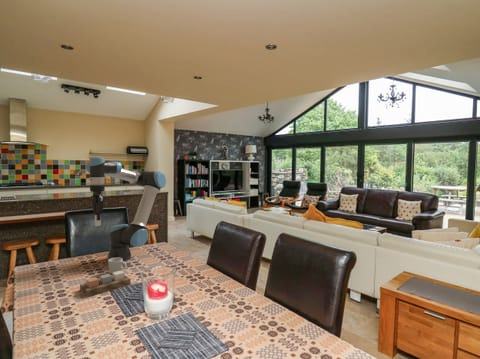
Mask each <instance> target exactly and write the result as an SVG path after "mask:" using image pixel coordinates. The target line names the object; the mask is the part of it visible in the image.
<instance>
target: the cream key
mask: <svg viewBox="0 0 480 359" xmlns="http://www.w3.org/2000/svg"><path fill="white" fill-rule="evenodd" d="M124 275H125V272H124V271H123V270H121V271H117V272H113V273H112V274H111V276H112V279H113V280H115V281H117V280H121V279H124Z"/></svg>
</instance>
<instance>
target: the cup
mask: <svg viewBox="0 0 480 359" xmlns="http://www.w3.org/2000/svg"><path fill="white" fill-rule="evenodd" d="M122 260H123V259H122V258H119V257H116V258H111V259H109V260H107V265H108V266H107V267H108V272H109V274H110V275H112V273H113V272H117V271H123V270H125V269H126V268H127V262H126V261H122ZM123 265H124V267H123Z"/></svg>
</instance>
